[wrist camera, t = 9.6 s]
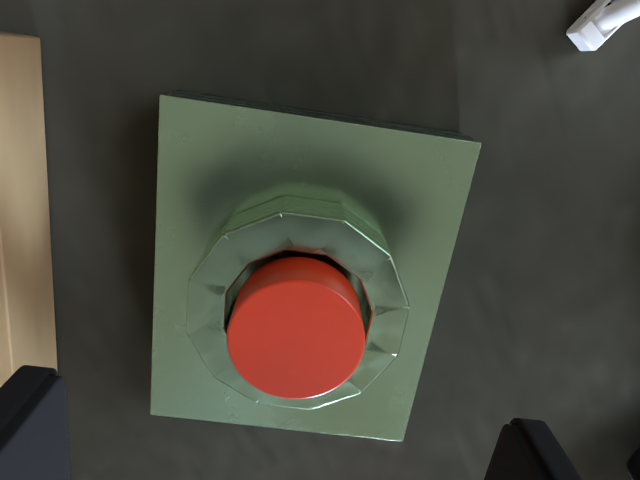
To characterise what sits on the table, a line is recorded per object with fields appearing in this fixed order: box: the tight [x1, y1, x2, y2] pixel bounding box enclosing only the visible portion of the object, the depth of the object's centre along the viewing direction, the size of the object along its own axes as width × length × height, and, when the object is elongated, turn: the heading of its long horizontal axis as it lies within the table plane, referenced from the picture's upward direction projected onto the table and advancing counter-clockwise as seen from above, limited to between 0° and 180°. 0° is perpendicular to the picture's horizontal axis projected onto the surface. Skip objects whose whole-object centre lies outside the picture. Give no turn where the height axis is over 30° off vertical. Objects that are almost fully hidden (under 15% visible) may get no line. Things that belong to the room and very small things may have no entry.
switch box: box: [150, 90, 482, 441], centre depth 17 cm, size 12×10×4 cm
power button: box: [227, 257, 365, 399], centre depth 14 cm, size 4×4×2 cm
